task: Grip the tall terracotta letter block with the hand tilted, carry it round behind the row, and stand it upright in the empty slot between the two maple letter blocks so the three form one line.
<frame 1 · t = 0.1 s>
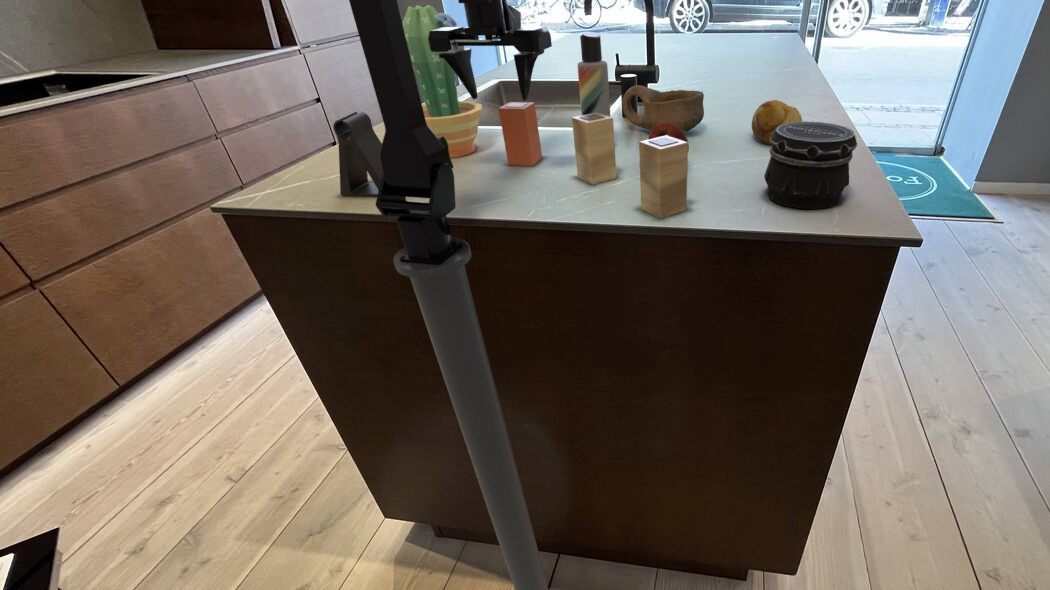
hand: (500, 99, 88), 13 cm above the counter, tool pointing down, fingers open, 9 cm apart
maple block back: (597, 178, 93), on the counter
terracotta block: (525, 161, 102), on the counter
container: (802, 197, 84), on the counter
bowl: (662, 132, 116), on the counter
apple: (667, 169, 96), on the counter
lotion bottle: (598, 146, 109), on the counter
potted cactus: (453, 152, 109), on the counter
phone stand: (375, 191, 92), on the counter
maple block front: (663, 209, 81), on the counter
bread roll: (773, 139, 109), on the counter
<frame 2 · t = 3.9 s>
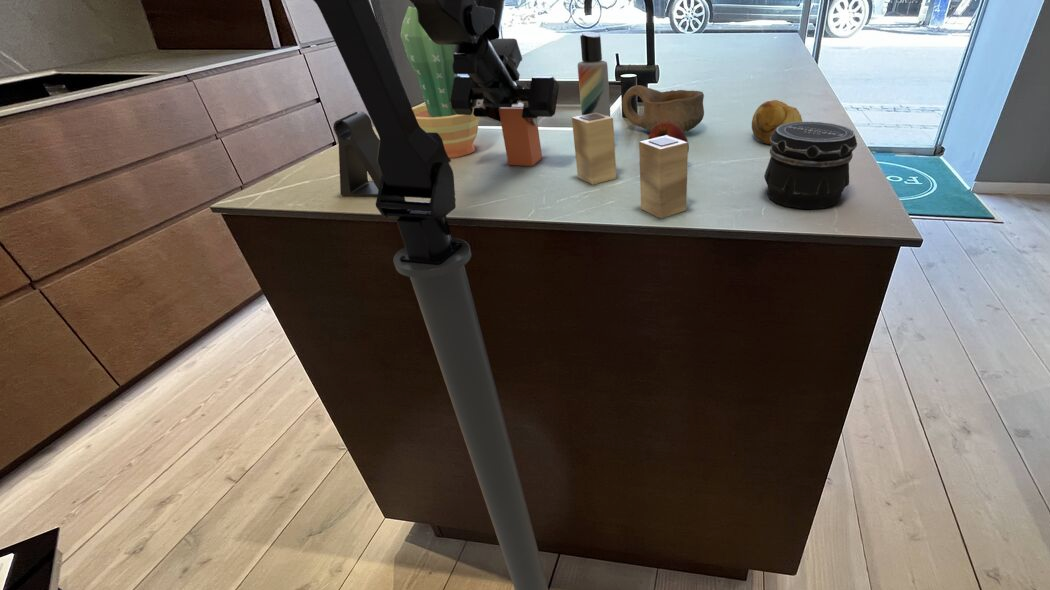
hand: (522, 123, 99), 7 cm above the counter, tool tilted 45°, fingers closed on terracotta block, 5 cm apart
terracotta block: (525, 161, 102), on the counter, touching gripper
everything else where it was.
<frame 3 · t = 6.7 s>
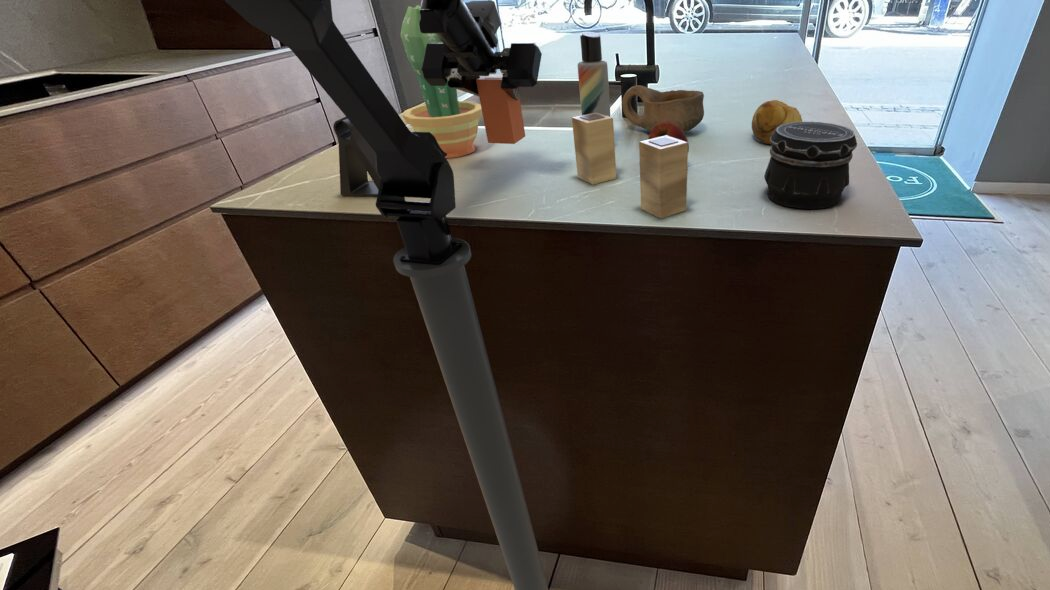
hand: (503, 97, 91), 12 cm above the counter, tool tilted 45°, fingers closed on terracotta block, 5 cm apart
terracotta block: (507, 139, 94), point 6 cm above the counter, touching gripper
everything else where it was.
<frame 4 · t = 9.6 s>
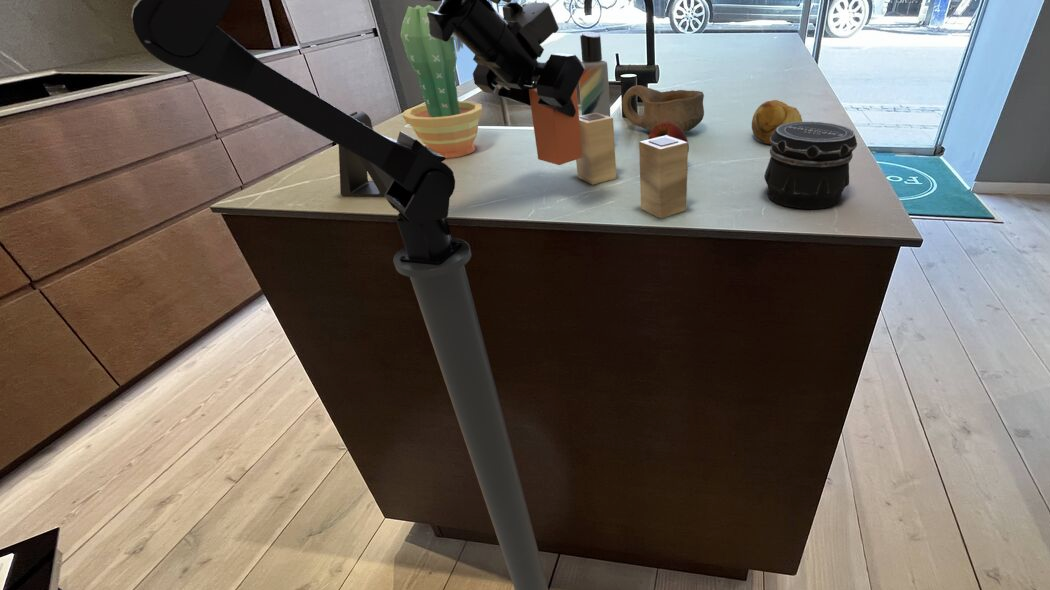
hand: (562, 112, 80), 12 cm above the counter, tool tilted 45°, fingers closed on terracotta block, 5 cm apart
terracotta block: (560, 158, 83), point 6 cm above the counter, touching gripper
everything else where it was.
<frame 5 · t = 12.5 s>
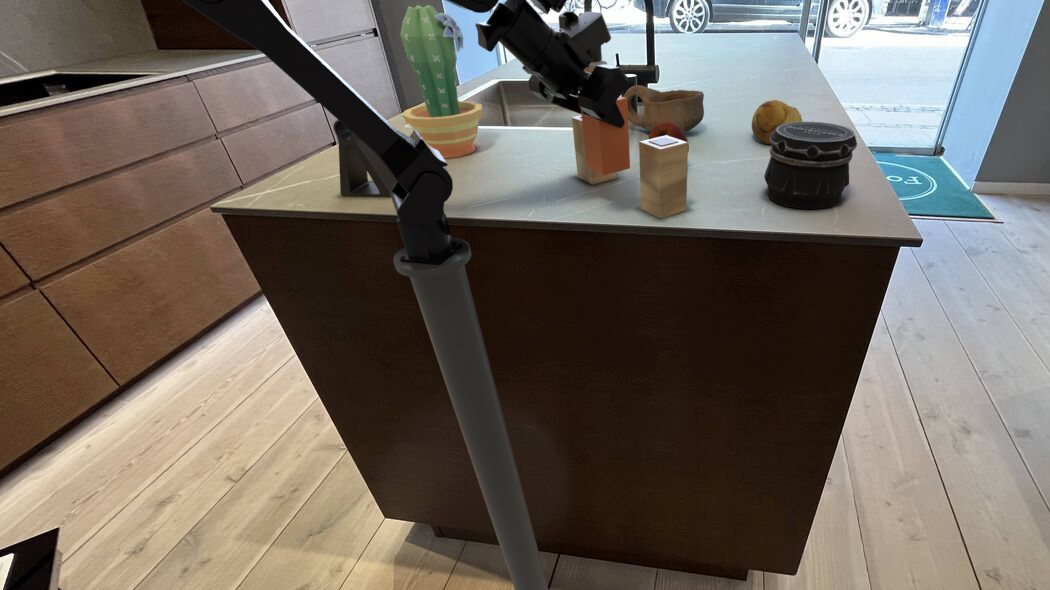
hand: (612, 121, 79), 11 cm above the counter, tool tilted 45°, fingers closed on terracotta block, 5 cm apart
terracotta block: (608, 168, 82), point 5 cm above the counter, touching gripper
everything else where it was.
when the fingers open (7 cm above the counter, at t = 15.2 s): terracotta block stays where it is, on the counter.
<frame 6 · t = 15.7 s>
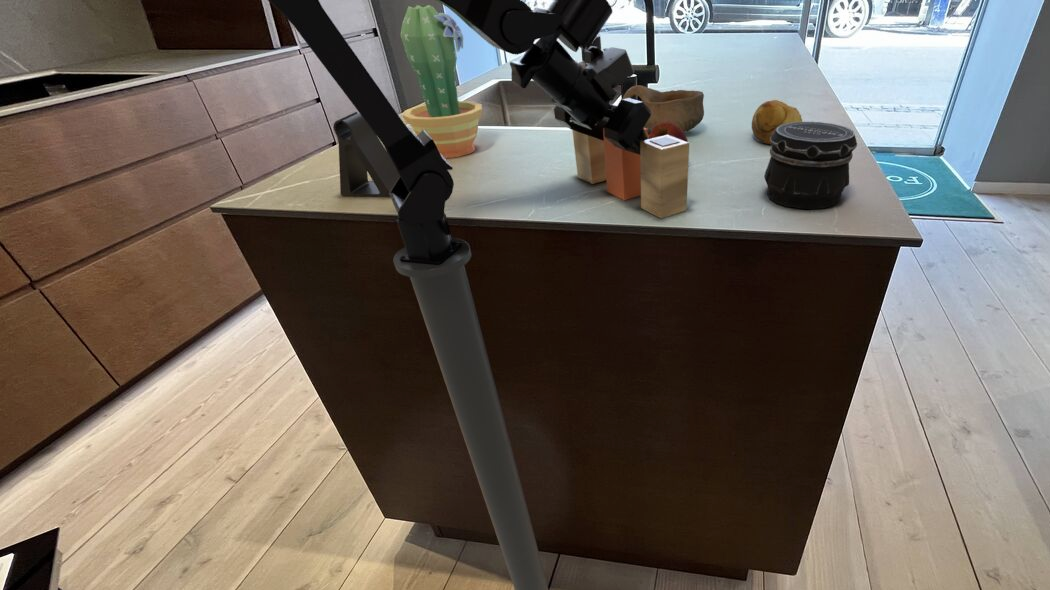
hand: (633, 148, 83), 7 cm above the counter, tool tilted 45°, fingers open, 9 cm apart
maple block back: (596, 177, 93), on the counter, touching gripper
terracotta block: (628, 192, 87), on the counter
maple block front: (663, 209, 81), on the counter, touching gripper
everything else where it was.
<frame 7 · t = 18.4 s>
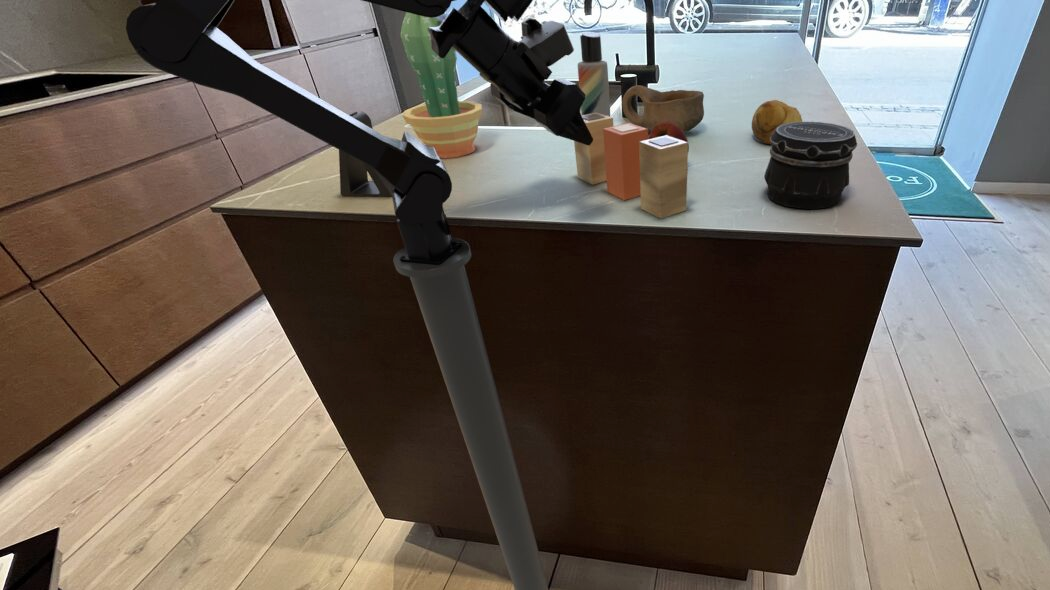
hand: (575, 133, 77), 11 cm above the counter, tool tilted 45°, fingers open, 9 cm apart
maple block back: (597, 177, 93), on the counter
maple block front: (663, 209, 81), on the counter
everything else where it was.
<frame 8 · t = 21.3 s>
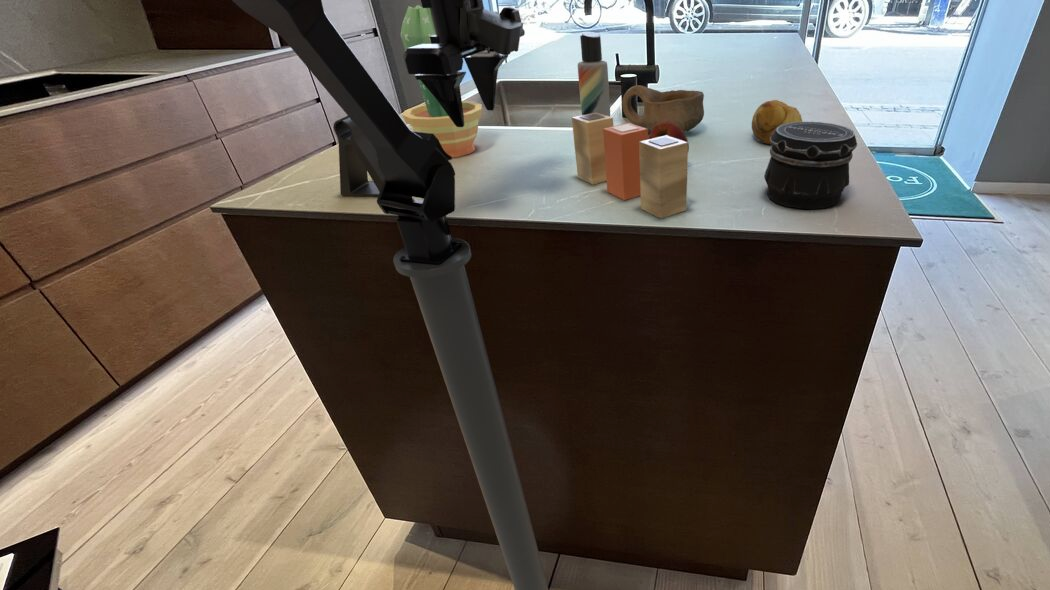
hand: (476, 118, 76), 13 cm above the counter, tool pointing down, fingers open, 9 cm apart
nothing on the counter moved.
at the end: terracotta block 0.1 cm from the target spot on the counter beside the maple block front, on the counter; terracotta block tilted 0°; maple block back moved 0.0 cm from its start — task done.
